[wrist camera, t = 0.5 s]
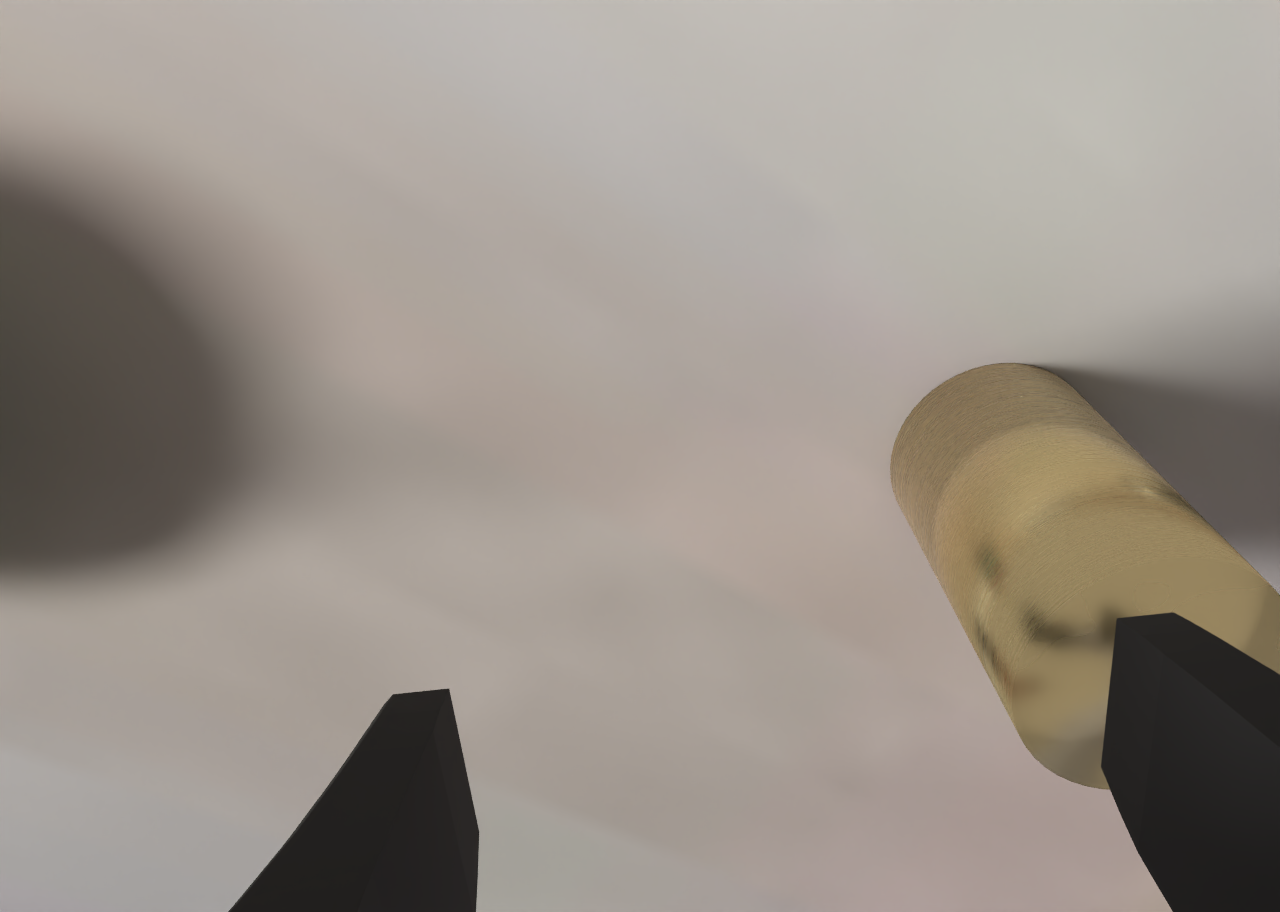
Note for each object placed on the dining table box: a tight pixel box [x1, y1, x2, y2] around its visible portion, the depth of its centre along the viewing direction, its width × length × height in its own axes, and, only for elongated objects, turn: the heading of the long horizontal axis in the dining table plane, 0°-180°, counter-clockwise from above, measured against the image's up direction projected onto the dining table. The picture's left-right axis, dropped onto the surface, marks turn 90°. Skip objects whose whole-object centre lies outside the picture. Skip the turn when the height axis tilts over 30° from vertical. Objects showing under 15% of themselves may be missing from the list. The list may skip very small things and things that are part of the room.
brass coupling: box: [890, 363, 1280, 790], centre depth 19 cm, size 4×4×7 cm
